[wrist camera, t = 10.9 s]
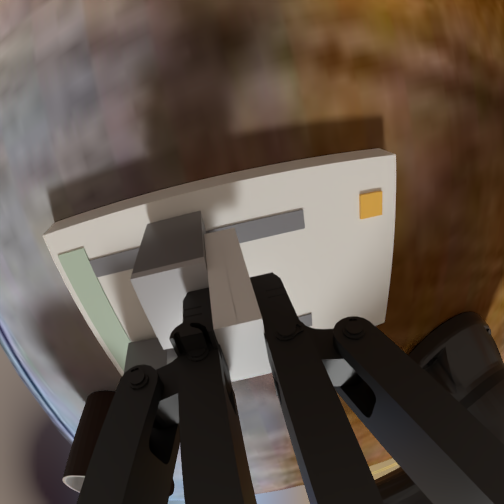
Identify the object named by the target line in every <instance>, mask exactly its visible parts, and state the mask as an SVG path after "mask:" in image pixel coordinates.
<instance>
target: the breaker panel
mask: <svg viewBox="0 0 504 504" xmlns="http://www.w3.org/2000/svg"><path fill="white" fill-rule="evenodd" d="M395 207H396V154H393V153H391V152H388V151H385V150H383V149H380V148H376V149H368V150H360V151H352V152H345V153H338V154H331V155H325V156H318V157H312V158H306V159H300V160H294V161H289V162H283V163H278V164H272V165H267V166H262V167H257V168H252V169H247V170H242V171H238V172H233V173H228V174H224V175H219V176H215V177H211V178H206V179H202V180H198V181H194V182H190V183H186V184H182V185H178V186H174V187H170V188H166V189H162V190H158V191H155V192H151V193H147V194H144V195H140V196H137V197H133V198H130V199H126V200H123V201H119V202H116V203H113V204H109V205H106V206H103V207H100V208H97V209H93V210H90V211H87V212H84V213H81V214H78V215H75V216H72V217H69V218H66V219H63V220H60V221H57V222H55V223H53V225H52V226H51V227H50V228H49V229H48V230H47V231H46V232H45V233H44V235H43V238H44V240H45V243H46V245H47V247H48V249H49V252H50V254H51V256H52V258H53V260H54V262H55V264H56V266H57V268H58V270H59V272H60V274H61V276H62V278H63V280H64V282H65V284H66V286H67V288H68V290H69V292H70V294H71V296H72V297H73V299H74V301H75V303H76V305H77V306H78V308H79V310H80V312H81V313H82V315H83V317H84V319H85V320H86V322H87V324H88V325H89V327H90V329H91V330H92V332H93V334H94V335H95V337H96V338H97V340H98V342H99V343H100V345H101V346H102V348H103V349H104V351H105V352H106V354H107V355H108V357H109V358H110V360H111V361H112V363H113V364H114V366H115V367H116V369H117V370H118V371H119V373H120V374H121V376H123V374H124V368H125V361H126V355H127V349H128V343H130V342H135V341H141V340H147V339H152V338H157V336H156V334H155V332H154V330H153V328H152V326H151V324H150V322H149V320H148V318H147V315H146V313H145V311H144V309H143V307H142V305H141V303H140V301H139V298H138V296H137V294H136V292H135V290H134V287H133V285H132V283H131V280H130V278H131V274H132V271H133V268H134V264H135V261H136V257H137V254H138V251H139V248H140V245H141V241H142V238H143V235H144V232H145V229H146V226H147V224H149V223H153V222H157V221H160V220H164V219H168V218H172V217H176V216H180V215H184V214H188V213H192V212H196V211H201V214H202V218H203V221H204V225H205V229H206V233H212V232H216V231H221V230H225V229H230V228H234V227H235V231H236V234H237V237H238V241H239V244H240V247H241V251H242V254H243V257H244V261H245V264H246V267H247V270H248V274H249V277H254V276H258V275H263V274H267V273H271V272H273V273H274V274H275V275H277V276H278V277H280V278H281V281H282V283H283V285H284V288H285V289H286V292H287V294H288V296H289V298H290V301H291V303H292V305H293V307H294V309H295V312H296V314H297V316H298V318H299V320H300V321H301V322H303V323H304V324H305V325H306V326H308V327H311V328H315V329H333V328H334V326H335V325H336V323H337V322H338V321H340V320H341V319H343V318H346V317H351V316H358V317H362V318H365V319H366V320H368V321H370V322H371V323H372V324H373V325H374V326H376V325H379V324H382V323H384V322H385V316H386V309H387V302H388V294H389V286H390V277H391V268H392V257H393V244H394V229H395Z"/></svg>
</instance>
